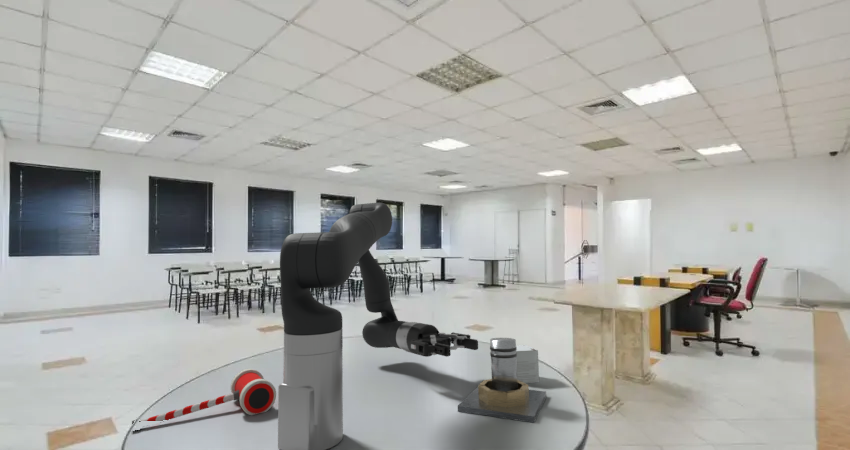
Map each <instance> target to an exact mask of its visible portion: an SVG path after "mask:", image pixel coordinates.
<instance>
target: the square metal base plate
mask: <svg viewBox="0 0 850 450" xmlns="http://www.w3.org/2000/svg"><path fill="white" fill-rule="evenodd" d="M545 398H547V391H544V390H538V389H537V390H536V389H535V390H534V389H530V388H529V383H523V382H521V381H519V380H518V390H513V391H498V390H492V378H489V379H484V380H483V381H481V382H480V383H479V384H478V386H477V387H475V389H474V390H473V391H471V392H470V393H469V394H468V395H467V396H466V397H465V398H464V399H463V400H462V401H461V402H460V403H459V404H458V405H457V412H459V413H460V412H461V413H465V414H466V413H467V414H473V415H480V416H488V417H492V418H493V417H494V418H500V419H507V420H508V419H509V420H515V421H521V422H527V423H536V419H538V418H537V417H538V415H539V413H540V412H541V409H542V407H543V405H544V402H545V401H546V399H545Z"/></svg>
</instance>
